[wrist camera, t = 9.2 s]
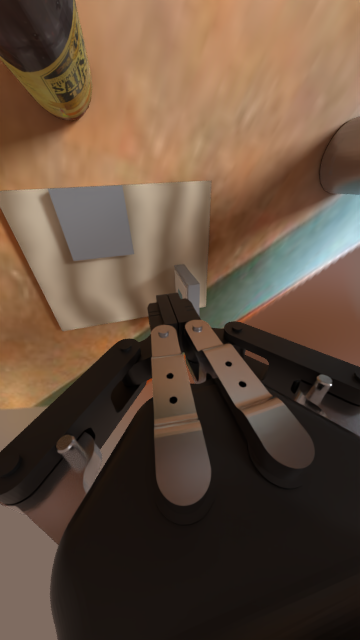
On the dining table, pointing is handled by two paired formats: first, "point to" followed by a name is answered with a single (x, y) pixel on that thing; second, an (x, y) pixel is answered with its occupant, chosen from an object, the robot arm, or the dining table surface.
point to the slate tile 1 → (93, 221)
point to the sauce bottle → (47, 53)
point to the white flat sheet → (119, 271)
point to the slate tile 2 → (187, 285)
